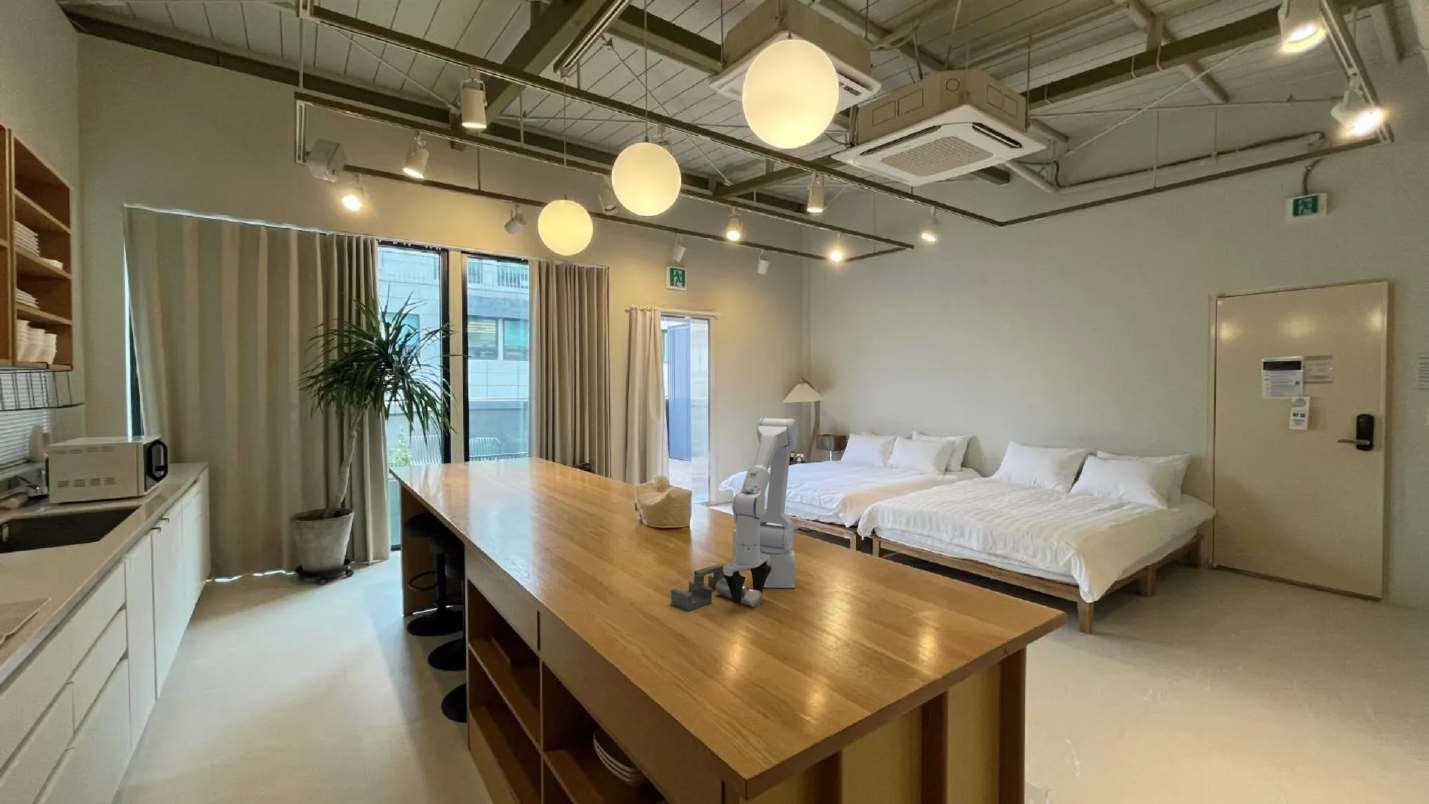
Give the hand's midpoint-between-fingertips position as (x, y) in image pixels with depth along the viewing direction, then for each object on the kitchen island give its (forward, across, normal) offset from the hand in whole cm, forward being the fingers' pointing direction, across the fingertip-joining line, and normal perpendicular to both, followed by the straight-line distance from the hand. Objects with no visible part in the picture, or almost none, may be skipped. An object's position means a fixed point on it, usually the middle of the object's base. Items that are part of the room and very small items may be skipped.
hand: (747, 598), depth 143 cm
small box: (+2, -23, -21) cm, 31 cm away
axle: (+2, 0, -3) cm, 4 cm away
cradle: (+1, +9, -10) cm, 13 cm away
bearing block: (+1, -2, -13) cm, 13 cm away
